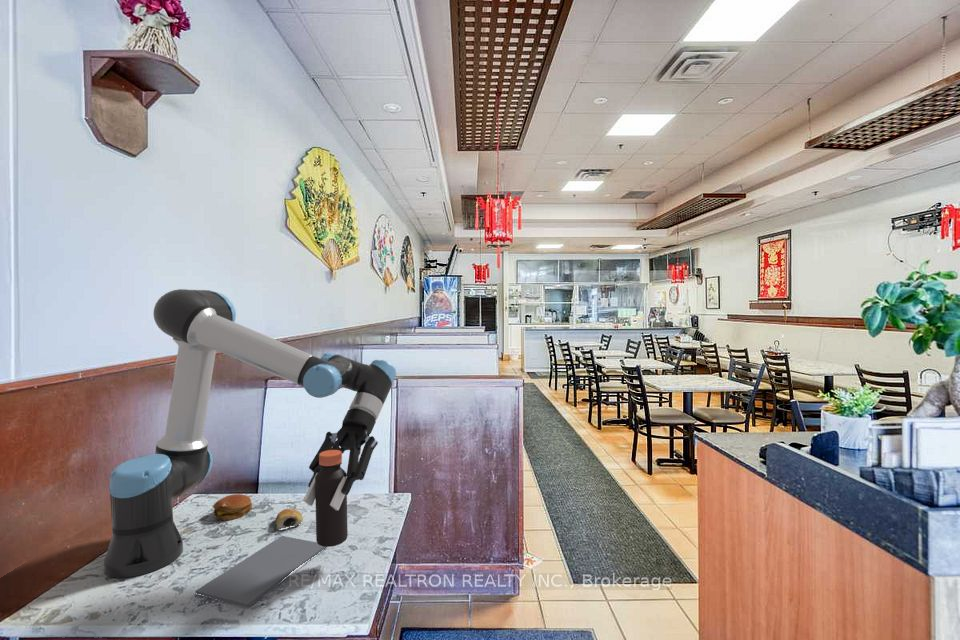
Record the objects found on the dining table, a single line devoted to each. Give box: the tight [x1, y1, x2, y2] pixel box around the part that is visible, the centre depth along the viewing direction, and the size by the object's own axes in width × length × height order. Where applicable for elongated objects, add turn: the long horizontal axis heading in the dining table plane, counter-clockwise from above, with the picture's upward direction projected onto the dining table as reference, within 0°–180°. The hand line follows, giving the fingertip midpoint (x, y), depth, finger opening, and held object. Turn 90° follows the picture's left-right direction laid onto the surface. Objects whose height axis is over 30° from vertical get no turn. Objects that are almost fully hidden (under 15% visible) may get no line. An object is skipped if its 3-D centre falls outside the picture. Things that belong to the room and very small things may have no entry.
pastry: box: [274, 508, 304, 530], centre depth 128 cm, size 9×7×4 cm
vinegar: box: [314, 450, 349, 548], centre depth 106 cm, size 7×7×20 cm
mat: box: [195, 535, 327, 609], centre depth 105 cm, size 14×24×1 cm, turn 160°
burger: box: [212, 493, 253, 522], centre depth 134 cm, size 10×9×5 cm
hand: (320, 505), depth 102 cm, fingers closed on vinegar, 6 cm apart
